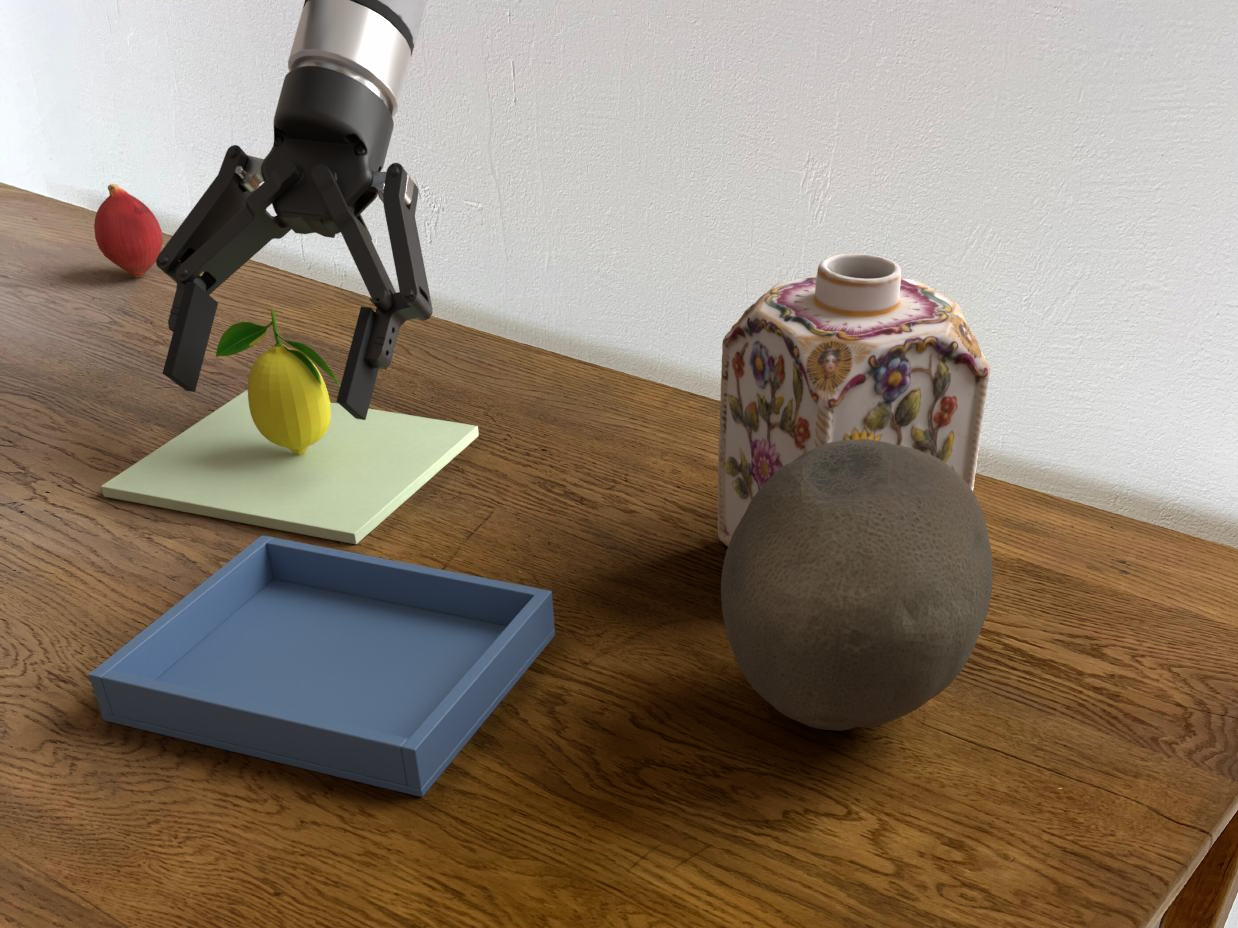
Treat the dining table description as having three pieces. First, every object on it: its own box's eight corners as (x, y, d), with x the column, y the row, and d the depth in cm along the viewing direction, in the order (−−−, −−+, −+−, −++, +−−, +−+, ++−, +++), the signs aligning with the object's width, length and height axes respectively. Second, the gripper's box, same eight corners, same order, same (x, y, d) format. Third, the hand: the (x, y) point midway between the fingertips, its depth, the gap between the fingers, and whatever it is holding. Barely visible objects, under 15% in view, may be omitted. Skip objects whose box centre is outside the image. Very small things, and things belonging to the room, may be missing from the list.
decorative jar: (712, 540, 89) (717, 250, 77) (861, 502, 93) (888, 221, 81) (807, 624, 81) (830, 316, 69) (965, 579, 85) (1013, 280, 73)
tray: (103, 720, 74) (87, 674, 72) (271, 578, 86) (261, 534, 84) (422, 797, 69) (414, 750, 67) (555, 635, 81) (552, 590, 79)
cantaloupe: (660, 708, 75) (658, 447, 65) (841, 622, 82) (865, 373, 72) (843, 833, 67) (873, 558, 57) (1027, 726, 74) (1083, 463, 64)
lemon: (237, 451, 98) (204, 307, 91) (308, 428, 100) (282, 287, 94) (283, 482, 94) (253, 335, 87) (357, 457, 97) (333, 313, 90)
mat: (103, 497, 94) (100, 486, 94) (250, 399, 107) (247, 388, 106) (356, 545, 89) (354, 533, 88) (479, 436, 101) (478, 425, 101)
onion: (155, 262, 131) (133, 171, 125) (181, 277, 127) (159, 184, 122) (97, 275, 128) (71, 182, 123) (121, 291, 125) (97, 196, 119)
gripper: (527, 147, 93) (450, 446, 93) (217, 115, 99) (144, 395, 99) (485, 74, 86) (401, 398, 85) (154, 45, 92) (74, 346, 92)
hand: (263, 397), depth 92 cm, fingers open, 13 cm apart
